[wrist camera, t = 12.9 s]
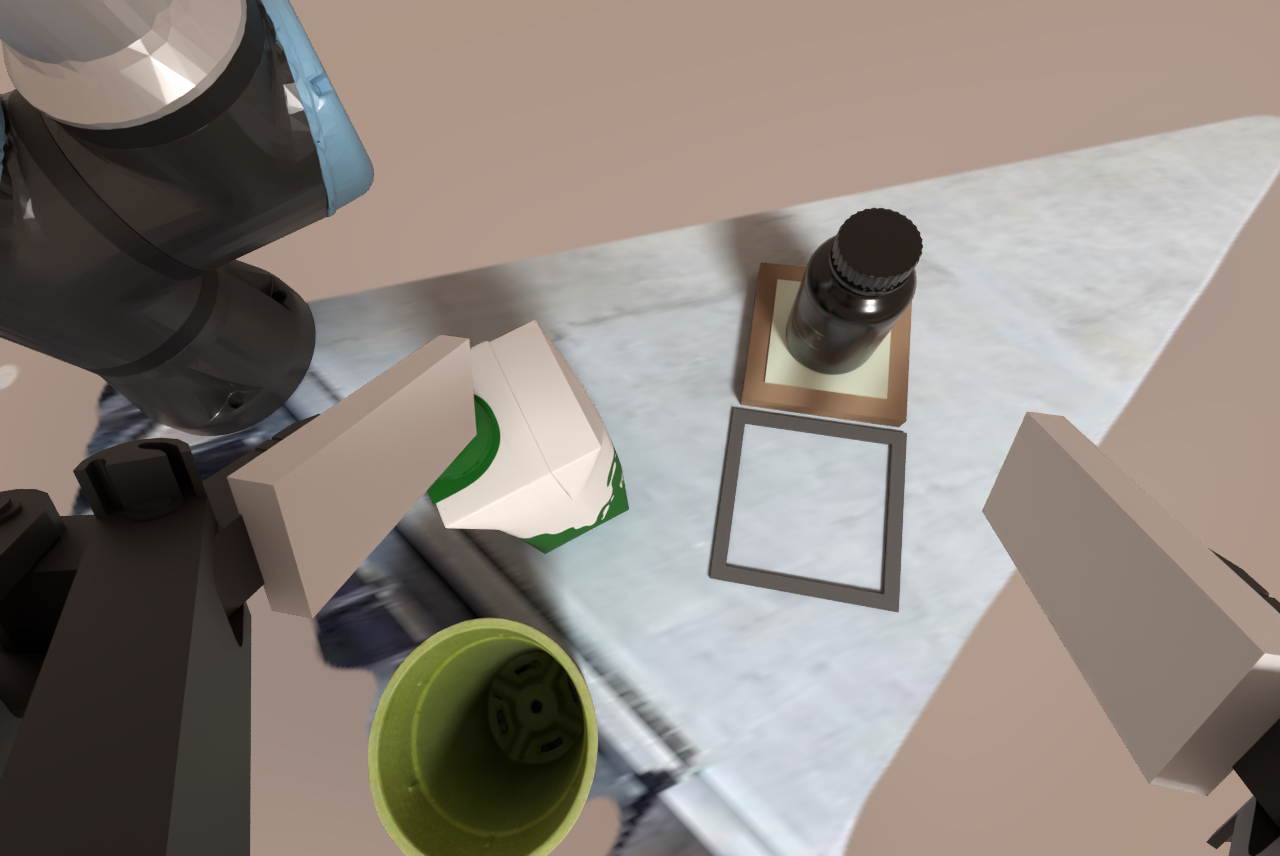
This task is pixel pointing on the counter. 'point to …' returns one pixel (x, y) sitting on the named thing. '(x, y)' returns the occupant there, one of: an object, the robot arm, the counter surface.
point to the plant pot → (482, 744)
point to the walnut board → (798, 389)
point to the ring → (798, 586)
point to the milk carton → (531, 449)
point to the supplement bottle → (854, 291)
